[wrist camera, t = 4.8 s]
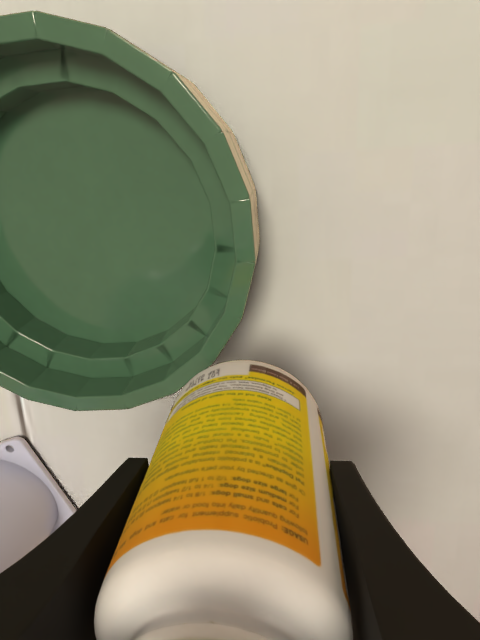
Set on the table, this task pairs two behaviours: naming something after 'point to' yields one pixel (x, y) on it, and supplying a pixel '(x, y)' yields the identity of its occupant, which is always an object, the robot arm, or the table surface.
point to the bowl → (113, 220)
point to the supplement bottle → (232, 521)
